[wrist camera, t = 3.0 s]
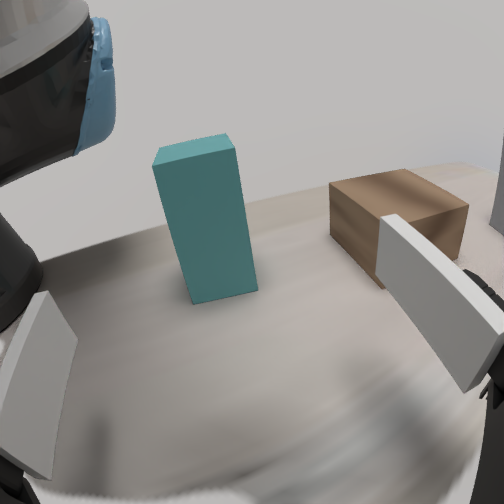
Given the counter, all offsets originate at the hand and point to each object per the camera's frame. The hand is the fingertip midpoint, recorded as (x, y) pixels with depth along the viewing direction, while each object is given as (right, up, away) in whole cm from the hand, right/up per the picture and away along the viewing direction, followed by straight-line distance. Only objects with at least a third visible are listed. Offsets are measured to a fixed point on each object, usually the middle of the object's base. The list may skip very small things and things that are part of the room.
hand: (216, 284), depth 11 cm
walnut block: (+13, +2, +13) cm, 18 cm away
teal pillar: (-1, -1, +12) cm, 12 cm away
